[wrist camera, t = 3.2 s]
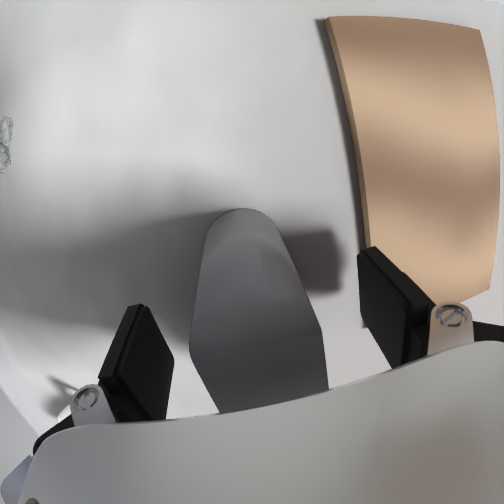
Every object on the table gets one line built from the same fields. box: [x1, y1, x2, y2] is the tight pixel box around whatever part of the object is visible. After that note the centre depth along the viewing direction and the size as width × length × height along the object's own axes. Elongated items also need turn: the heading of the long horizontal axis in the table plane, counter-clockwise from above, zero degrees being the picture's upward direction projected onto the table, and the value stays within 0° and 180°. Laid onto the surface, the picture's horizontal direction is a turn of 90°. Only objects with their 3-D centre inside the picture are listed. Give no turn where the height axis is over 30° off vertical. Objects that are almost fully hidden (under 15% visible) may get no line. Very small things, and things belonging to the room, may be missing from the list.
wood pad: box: [324, 16, 500, 305], centre depth 11 cm, size 14×8×1 cm, turn 14°
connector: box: [189, 209, 329, 413], centre depth 11 cm, size 9×3×6 cm, turn 13°
